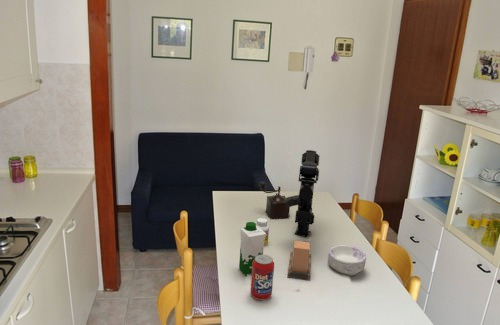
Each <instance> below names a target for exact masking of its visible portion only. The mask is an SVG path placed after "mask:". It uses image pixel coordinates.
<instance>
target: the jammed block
mask: <svg viewBox="0 0 500 325" xmlns="http://www.w3.org/2000/svg"><path fill="white" fill-rule="evenodd" d="M310 245H311V244H310V242H308V241H301V240H294V245H293V251H292V252H293V257H292V265H291V272H298V273H306V274H308V259H309V254H310V249H311V248H310V247H311V246H310Z"/></svg>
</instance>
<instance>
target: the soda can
mask: <svg viewBox="0 0 500 325" xmlns="http://www.w3.org/2000/svg"><path fill="white" fill-rule="evenodd" d="M274 273H275V261H274V258H273V257H272V256H270V255H268V254H263V255H257V256H256V257H255V259H254V260H253V263H252V274H251V277H250V278H251V279H250V280H251V281H250V282H251V283H250V295H251V297H253V298H254V299H256V300H259V301H261V300H262V301H264V300H265V301H266V300H268V299H270V298H271V297H272V295H273V285H274Z"/></svg>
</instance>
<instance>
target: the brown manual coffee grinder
mask: <svg viewBox="0 0 500 325" xmlns="http://www.w3.org/2000/svg"><path fill="white" fill-rule="evenodd" d="M258 186H259V187H260V191H262V192H264V193H265V194H272V193H275V194H274V195H267V196H266V205H265V206H266V208H265V214H266V216H267V217H268V218H269V220H284V219H285V220H286V219H287V220H288V219H289V218H290V208H291V207H288V206H287V202H286V198H287V197H286V195H281V186H277V189H276V190H270V191H266V186H267V182H265V181H260V182H259V183H258Z"/></svg>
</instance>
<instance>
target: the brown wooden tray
mask: <svg viewBox="0 0 500 325" xmlns="http://www.w3.org/2000/svg"><path fill="white" fill-rule="evenodd" d="M293 252H294V251H290V254H289V263H288V268H287V275H286V276H287V278H288V279H295V280H301V281H303V280H304V281H309V282H310V281H311V276H312V274H311V269H312V253H309V259H308V268H307V274H306V273H298V272H292V262H293Z"/></svg>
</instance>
